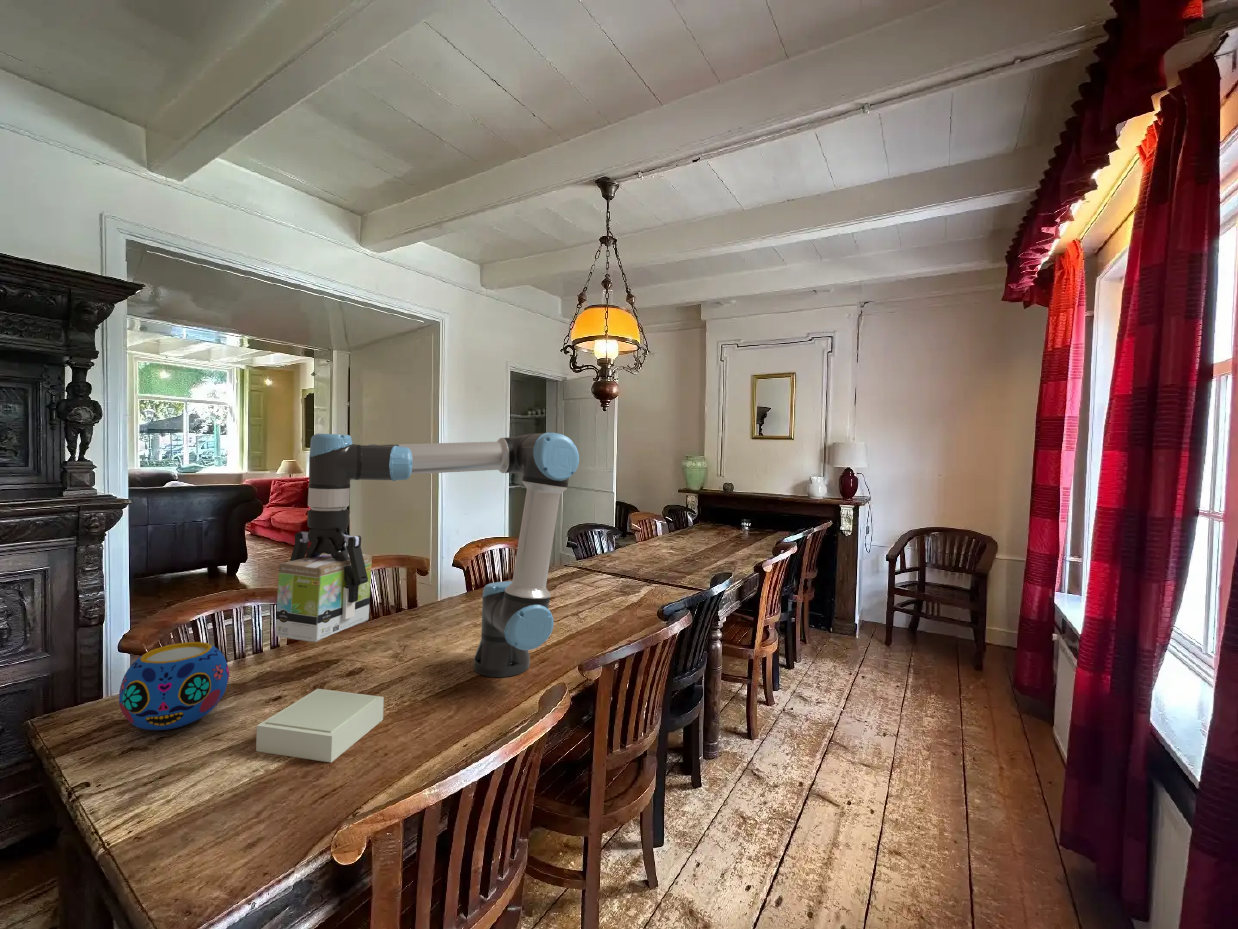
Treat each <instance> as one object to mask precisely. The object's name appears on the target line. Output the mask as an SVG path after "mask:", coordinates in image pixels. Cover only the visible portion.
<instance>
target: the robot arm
mask: <svg viewBox="0 0 1238 929" xmlns="http://www.w3.org/2000/svg"><path fill="white" fill-rule="evenodd" d="M309 446H310V447H309V455H308V456H309V459H308V495H307V506H308V507H309V508H310V509H309V510H308V511H307V522H306V523H307V527H308V528H309V530H308V531H307V530H305V531H300V532H296V533H295V534H294V545H293V549H292V553H291V555H290V560H289V561H293V560H298V559H302V558H313V557H317V556H320V555H321V554H331V556H332V558H334V559H335V560H336V561H341V562H343V561H346V560H350V562H351V565H350V566H345V567H344V580H345V582H346V584H347V586H346V587H344V588H343V613H342V619H344V620H346V619H348V618H351V617H353V616H355V602H356V601H357V600H358V588H359V585H360V584H363V583H366V582H367V581H368V577H367V572H366V568H365V563H364V559H363V555H362V554H363V551H362V547H361V545H362V537H361V535H349V534H348V531H347V530H348V529H347V528H348V527H349V525H350V510H349V509H348V507H349V506H350V500H351V499H350V494H351V493H350V492H351V480H352V481H353V480H354V481H360V480H362V481H363V480H366V481H367V480H368V481H392V482H396V481H405V480H406V481H407V480H409V479H410V477H411V475H425V474H427V475H428V474H442V473H445V474H446V473H460V472H461V473H462V472H465V473H466V472H480V471H481V472H483V471H499V472H500V473H501V474H520V475H522V480H521V483H522V484H523V485H524V487H525V488H526V494H525V500H524V505H523V512H522V518H521V525H520V530H519V531H520V532H519V537H518V542H517V549H516V556H515V562H514V568H513V569H514V570H513V574H512V575H513V576H512V580H509V581H507V580H506V581H496V582H490V583H488V584H485V586H484V587H483V591H482V596H481V598H482V604H481V605H482V606H481V635H480V636H481V637H480V641H479V644H478V645H477V646H478V647H477V650H476V652H475V655H474V658H473V670H474V671H475V672H476V673H477V674H479V675H481V676H484V677H491V678H506V677H513V676H516V675H519V674H522V673H524V672H526V671H527V670H528V669H529V668H530V666H531V664H530V663H531V656H530V652H529V651H532V650H534V649H537V648H540V647H541V646H542V645H543V644H544V643H545V642H546V641H548V639H549V638H550V636H551V634H552V633H553V629H554V624H555V623H554V621H555V620H554V617H553V614H552V611H551V610H550V609H549V608H550V602H551V593H550V591H549V590H548V589H547V581H548V574H549V567H550V562H551V556H552V549H553V543H554V542H553V541H554V537H555V530H556V522H557V519H558V518H557V517H558V511H559V505H560V499H561V498H560V497H561V495H562V493H564V492H565V491H567V489H568V486H569V479H570V478H571V477H572V476H573V475H574V474H575V472H576V471H577V470H578V467H579V464H580V454H579V451H578V450H579V449H578V448H577V445H575V443H574V442H573V440H572V439H571V438H570V437H568V436H566V435H564V434H562V433H557V432H550V431H549V432H541V433H540V432H539V433H536V432H534V433H529V434H528V433H527V434H523V435H518V436H509V437H508V436H507V437H500V438H498V439H497V440H496V441H475V442H474V441H473V442H472V441H471V442H470V441H468V442H467V441H466V442H440V443H438V442H433V443H432V442H431V443H401V444H400V443H399V444H375V443H374V444H373V443H371V444H356V443H353V440H352V436H351V435H349V434H338V433H337V434H335V433H315V434H313V435H312V437H311V438H310V444H309ZM309 544H310V545H309ZM348 554H349V556H348Z"/></svg>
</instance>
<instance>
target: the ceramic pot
mask: <svg viewBox="0 0 1238 929" xmlns="http://www.w3.org/2000/svg"><path fill="white" fill-rule="evenodd" d="M229 678H230V670H229V666H228V661H227V660H226V658H225V656H224V654H223V653H222V651H221V650H220V649H218V647H216V646H214V645H213V644H210V643H208V642H202V641H189V642H188V641H187V642H179V643H173V644H168V645H165V646H164V645H163V646H161V647H157V648H154V649H151V650H149V651H148V652H146V653H144V654H142V655H140V656H139V657H138V658H137V659H136V660H135V661H134V662H133V663H132V664H131V665H130V666H129V667H128V669H127V670H126V672H125V673H124V675H123V678H122V681H121V683H120V687H119V695H118V697H119V698H118V703H119V707H120V711H121V713H122V714H123V716H124V718H125V719H126V720H127V721H128V722H129V723H130V724H131V725H133V726H134V727H136V728H139V729H142V730H149V731H166V730H172V729H177V728H181V727H184V726H187V725H189V724H192V723H193V722H196V721H198V720H200V719H202V718H203V717H204V716H206V715H208V714H209V713H210V712H212V710H213V709H215V707H217V705H218V704H219V703H220V701H221V700H222V698H223V697H224V694H225V692H226V690H227V688H228V687H227V686H228V683H229Z"/></svg>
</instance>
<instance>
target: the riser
mask: <svg viewBox="0 0 1238 929" xmlns="http://www.w3.org/2000/svg"><path fill="white" fill-rule="evenodd" d="M384 698H385V697H384V696H379V695H370V694H362V693H355V692H348V691H347V692H346V691H339V690H332V689H331V690H330V689H326V688H325V689H322V688H316V689H315V690H313V691H311V692H310V693H308V694H307V695H305V696H303V697H302V698H299V699H298V700H297V701H295V702H293V703H292V704H290V705H289V706H287V707H285V708H283V709H281V710H280V711H278V712H276V713H275V714H274V715H272V716H271V717H268V718H267V719H265V720H264V721H262V722H260V723H259V724H257V725H256V739H255V740H256V741H255V742H256V746H255V748H256V749H255V752H259V753H265V754H272V755H279V756H285V757H286V756H287V757H293V758H298V759H303V760H304V759H305V760H312V761H319V762H323V763H324V762H325V763H333V762H334V761H335V760H336V759H337V758H339V757H340V756H341V755H342V754H344V753H345V752H346V751H347V750H348V749H350V748H351V747H352V746H353V745H354V744H356V743H357V742H358V741H359V740H360V739H362V738H363V737H364V736H365V735H366V734H367V733H369V732H370V731H371V730H372V729H373V728H375V727H376V726H377V725H379V724H380V723H381V722H382V721H383V720H384Z"/></svg>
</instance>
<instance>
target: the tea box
mask: <svg viewBox="0 0 1238 929" xmlns="http://www.w3.org/2000/svg"><path fill="white" fill-rule="evenodd" d="M362 555H363V559H364V563H365V568H366V572H367V577H368V581H367V582H366V583H363V584H360V585H359V588H358V600H357V601H356V602H355V616H353V617H351V618H348V619H346V620H344V619H342V613H343V588H344V587H346V586H347V584H346V582H345V580H344V567H345V566H350V565H351V562H350V560H346V561H343V562H341V561H336V560H335V559H334V558H332V556H331V554H326V553H322V554H321V555H320V556H317V557H313V558H302V559H298V560H293V561H290V560H289V561H285V562H284V561H283V562H280V563H279V568H278V583H277V597H276V598H277V599H276V617H275V630H274V631H275V634H274V635H275V637H279V638H285V639H291V640H297V641H304V642H309V643H310V642H311V643H317V642H319V641H321V640H323V639H324V638H327V637H329V636H331V635H334V634H337V633H339V632H341V631H343V630H347V629H349V628H351V627H354V626H356V625H359V624H362V623H364V622H367V621H369V619H370V618H369V614H370V598H371V583H372V578H371V577H372V565H373V564H372V563H373V562H372V560H373V555H372V554H371V555H370V554H364V553H362ZM348 556H349V554H348Z"/></svg>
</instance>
